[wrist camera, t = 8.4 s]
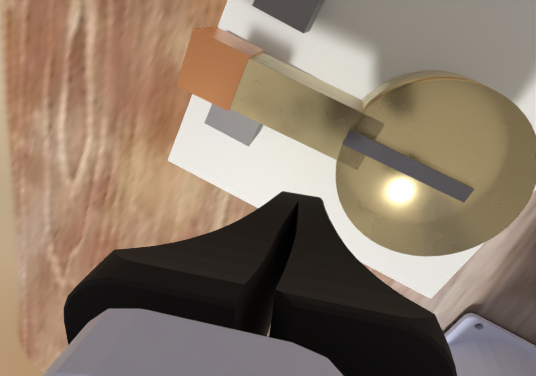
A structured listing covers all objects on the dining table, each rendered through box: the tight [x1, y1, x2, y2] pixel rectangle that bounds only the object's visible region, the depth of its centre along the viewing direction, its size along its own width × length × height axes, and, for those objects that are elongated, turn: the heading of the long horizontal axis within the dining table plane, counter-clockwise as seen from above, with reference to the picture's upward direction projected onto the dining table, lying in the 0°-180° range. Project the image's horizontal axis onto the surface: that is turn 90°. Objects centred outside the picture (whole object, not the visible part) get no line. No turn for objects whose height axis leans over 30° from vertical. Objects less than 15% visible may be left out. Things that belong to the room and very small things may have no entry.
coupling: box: [176, 27, 536, 256], centre depth 15 cm, size 14×7×3 cm, turn 67°
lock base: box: [168, 0, 536, 299], centre depth 18 cm, size 18×18×4 cm
